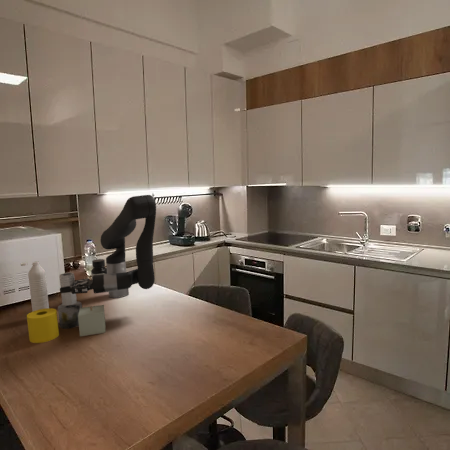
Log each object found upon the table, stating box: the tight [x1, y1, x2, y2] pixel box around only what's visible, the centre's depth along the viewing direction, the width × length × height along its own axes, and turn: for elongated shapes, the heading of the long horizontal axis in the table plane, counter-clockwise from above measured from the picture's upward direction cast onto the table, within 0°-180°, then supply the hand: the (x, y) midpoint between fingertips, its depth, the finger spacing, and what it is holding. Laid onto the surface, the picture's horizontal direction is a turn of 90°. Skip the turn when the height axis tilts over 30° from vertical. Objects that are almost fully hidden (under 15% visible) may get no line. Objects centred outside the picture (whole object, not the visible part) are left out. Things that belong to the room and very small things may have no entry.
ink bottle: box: [90, 258, 107, 280], centre depth 208 cm, size 10×9×12 cm
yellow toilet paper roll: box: [26, 307, 60, 344], centre depth 134 cm, size 10×10×9 cm
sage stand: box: [78, 304, 107, 337], centre depth 139 cm, size 9×9×10 cm
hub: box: [57, 301, 83, 329], centre depth 146 cm, size 9×9×10 cm
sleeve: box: [58, 272, 78, 305], centre depth 144 cm, size 5×5×12 cm
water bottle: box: [20, 261, 50, 312], centre depth 152 cm, size 9×6×25 cm
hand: (61, 288), depth 143 cm, fingers closed on sleeve, 5 cm apart
